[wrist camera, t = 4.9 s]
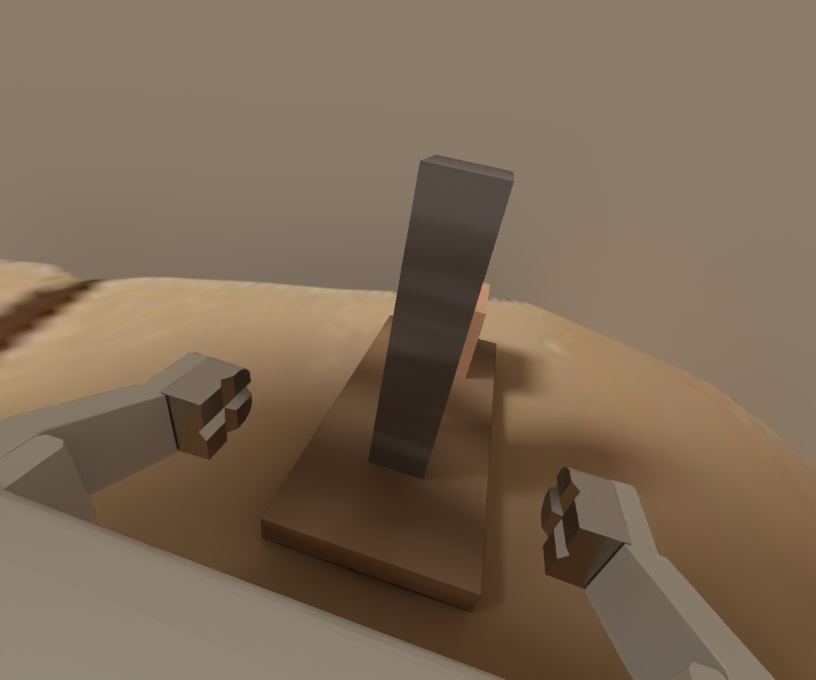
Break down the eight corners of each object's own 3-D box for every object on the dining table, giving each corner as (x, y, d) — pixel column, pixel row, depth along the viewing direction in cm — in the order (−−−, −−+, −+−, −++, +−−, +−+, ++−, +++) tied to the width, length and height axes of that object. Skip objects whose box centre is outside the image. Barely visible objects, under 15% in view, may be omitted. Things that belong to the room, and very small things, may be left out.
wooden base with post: (471, 611, 13) (683, 246, 6) (262, 537, 14) (238, 143, 7) (491, 357, 27) (560, 163, 20) (388, 328, 28) (421, 133, 21)
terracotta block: (465, 378, 22) (486, 313, 20) (394, 358, 23) (406, 293, 21) (471, 342, 26) (489, 284, 24) (410, 325, 27) (422, 267, 24)
